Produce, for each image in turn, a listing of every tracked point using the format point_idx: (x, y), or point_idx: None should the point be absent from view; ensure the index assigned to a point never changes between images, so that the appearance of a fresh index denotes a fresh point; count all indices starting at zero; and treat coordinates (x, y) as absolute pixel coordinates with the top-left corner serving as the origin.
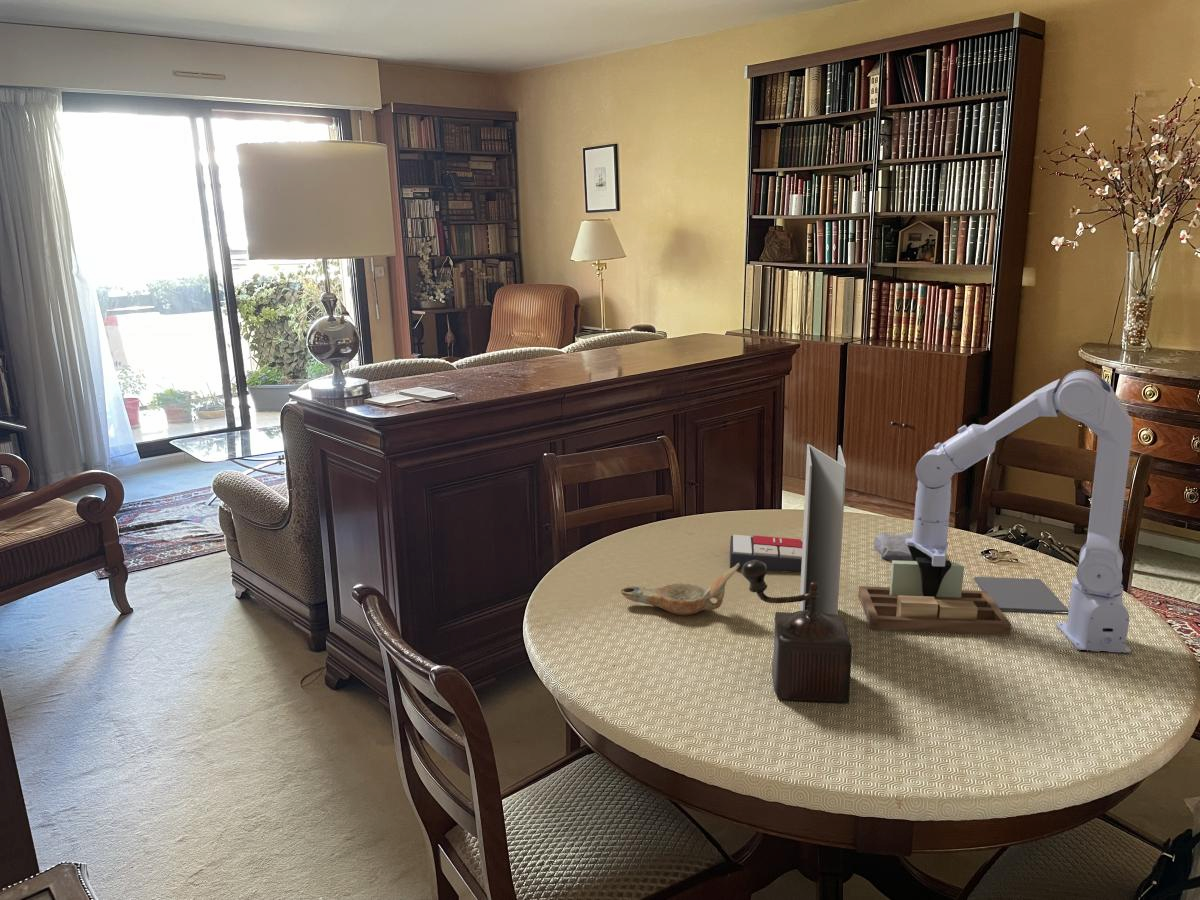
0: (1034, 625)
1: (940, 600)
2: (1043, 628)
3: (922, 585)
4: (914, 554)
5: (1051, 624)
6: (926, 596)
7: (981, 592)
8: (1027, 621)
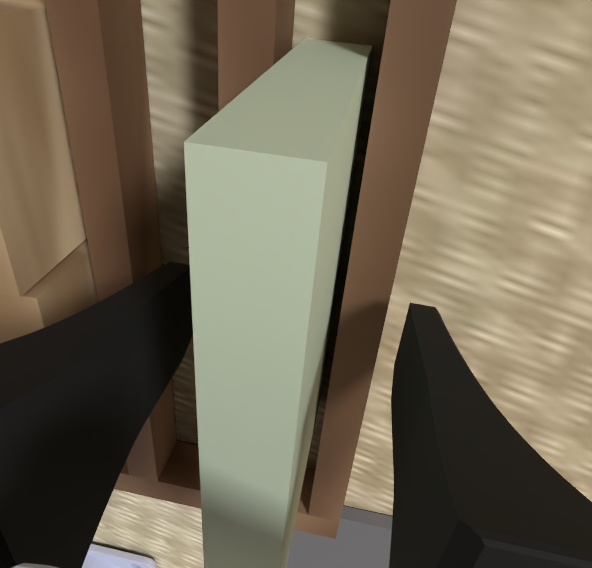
0: (146, 516)
1: (32, 316)
2: (129, 523)
3: (123, 292)
4: (433, 485)
5: (163, 550)
6: (6, 253)
7: (321, 519)
8: (173, 515)
